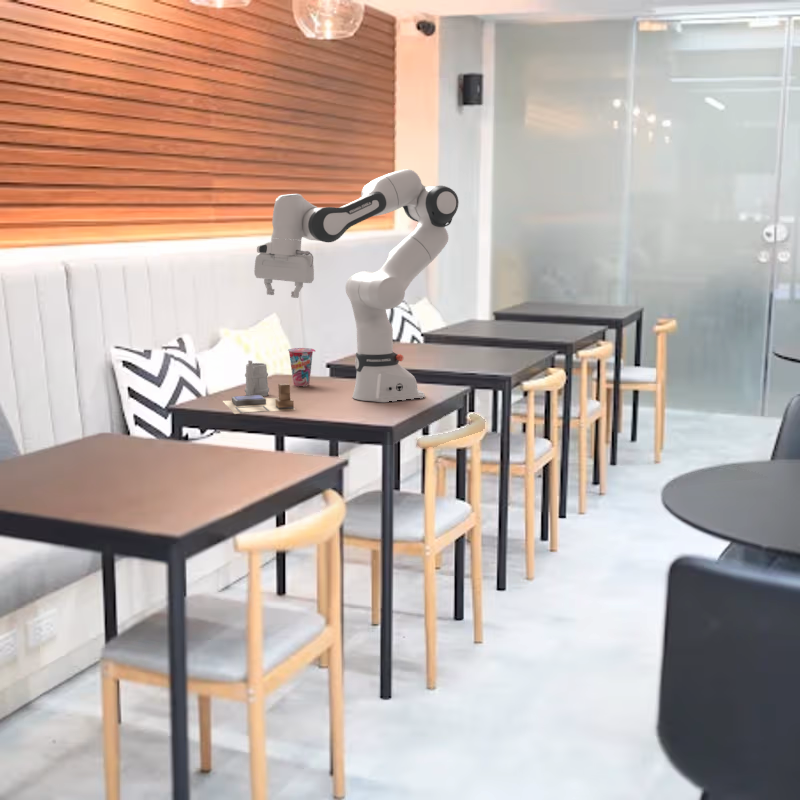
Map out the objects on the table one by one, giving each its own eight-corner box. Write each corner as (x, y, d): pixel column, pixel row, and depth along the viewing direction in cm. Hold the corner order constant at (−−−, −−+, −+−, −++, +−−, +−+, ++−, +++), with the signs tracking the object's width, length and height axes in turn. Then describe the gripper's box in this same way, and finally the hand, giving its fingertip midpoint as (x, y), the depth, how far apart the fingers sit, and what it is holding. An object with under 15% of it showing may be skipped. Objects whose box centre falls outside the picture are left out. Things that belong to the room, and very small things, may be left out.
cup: (287, 387, 366) (286, 351, 364) (290, 383, 374) (289, 347, 372) (315, 387, 366) (314, 351, 363) (318, 383, 374) (317, 347, 372)
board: (280, 400, 343) (280, 391, 342) (296, 413, 323) (295, 403, 323) (222, 404, 337) (222, 395, 337) (234, 417, 317) (234, 407, 317)
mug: (272, 393, 355) (271, 356, 353) (261, 400, 344) (260, 361, 342) (249, 392, 356) (248, 355, 354) (237, 399, 345) (236, 361, 343)
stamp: (290, 405, 329) (289, 382, 327) (293, 408, 324) (293, 385, 323) (275, 406, 327) (275, 383, 326) (278, 409, 323) (278, 385, 322)
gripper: (320, 252, 323) (316, 299, 325) (266, 247, 335) (263, 293, 336) (306, 251, 318) (303, 299, 320) (252, 246, 329) (249, 293, 331)
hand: (282, 296), depth 328 cm, fingers open, 8 cm apart
